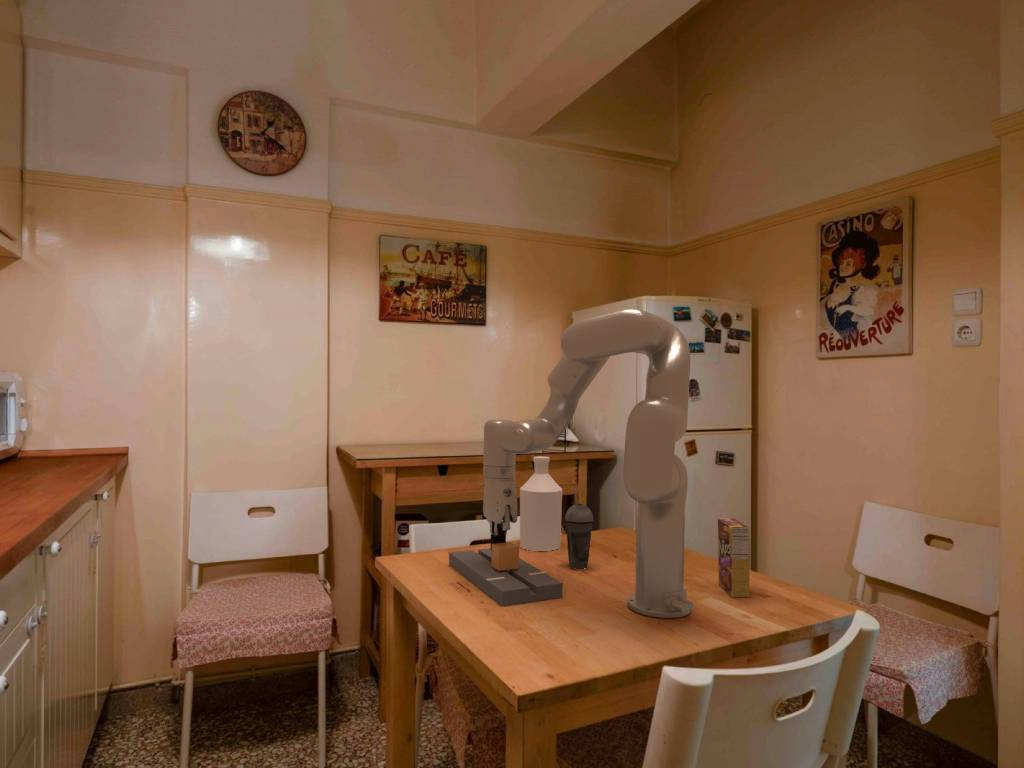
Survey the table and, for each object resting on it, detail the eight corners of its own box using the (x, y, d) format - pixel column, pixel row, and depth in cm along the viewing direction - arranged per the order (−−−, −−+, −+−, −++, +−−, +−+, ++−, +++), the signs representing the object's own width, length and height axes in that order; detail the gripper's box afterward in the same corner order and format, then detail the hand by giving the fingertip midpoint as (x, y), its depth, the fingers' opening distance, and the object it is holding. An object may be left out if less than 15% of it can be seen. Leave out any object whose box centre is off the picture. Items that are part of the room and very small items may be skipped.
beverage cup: (594, 571, 148) (596, 488, 148) (564, 571, 148) (565, 488, 148) (591, 563, 155) (592, 484, 155) (562, 562, 155) (564, 483, 156)
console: (562, 597, 129) (562, 582, 129) (502, 606, 123) (502, 590, 123) (500, 558, 158) (500, 546, 158) (448, 564, 152) (449, 552, 152)
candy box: (716, 584, 139) (717, 517, 140) (735, 585, 139) (736, 517, 140) (730, 597, 130) (730, 526, 131) (750, 598, 130) (750, 526, 131)
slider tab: (518, 575, 138) (519, 546, 138) (498, 578, 136) (498, 548, 136) (511, 570, 142) (511, 542, 142) (491, 573, 139) (491, 544, 139)
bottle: (557, 553, 164) (559, 460, 164) (514, 550, 167) (516, 458, 167) (564, 543, 176) (565, 456, 176) (524, 540, 178) (525, 454, 179)
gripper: (527, 476, 137) (526, 558, 137) (500, 468, 151) (499, 542, 151) (497, 477, 134) (496, 561, 134) (472, 469, 148) (471, 545, 148)
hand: (498, 551), depth 142 cm, fingers closed
